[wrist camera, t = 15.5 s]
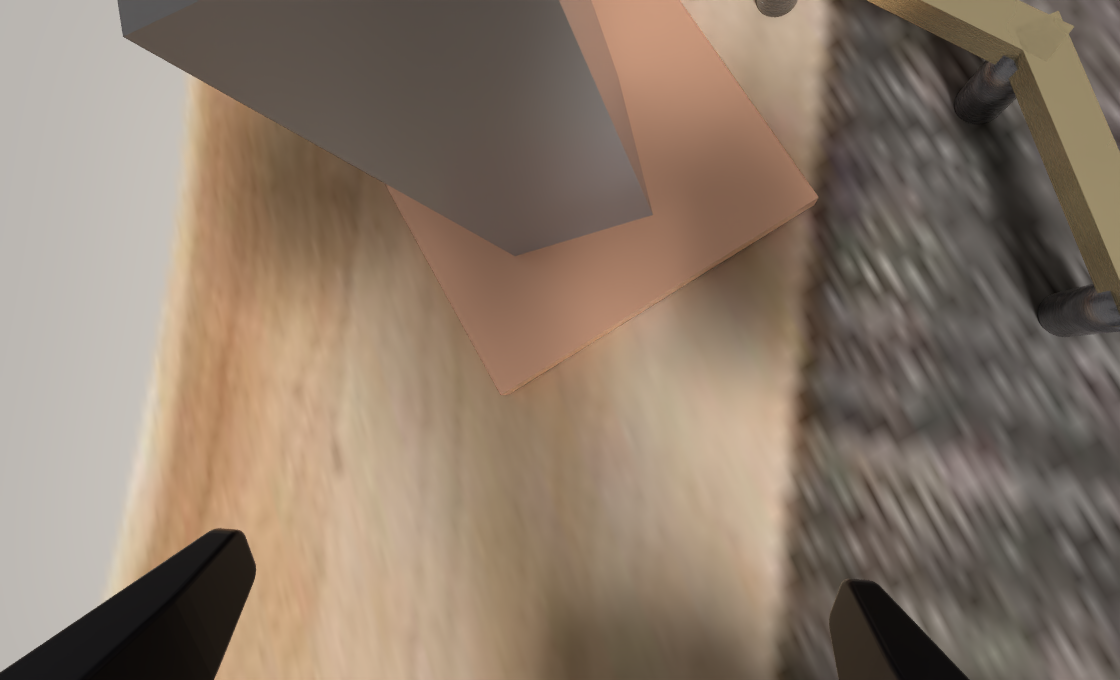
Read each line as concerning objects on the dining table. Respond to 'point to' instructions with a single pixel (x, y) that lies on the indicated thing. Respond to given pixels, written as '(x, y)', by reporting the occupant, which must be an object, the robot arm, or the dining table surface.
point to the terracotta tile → (638, 246)
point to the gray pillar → (431, 100)
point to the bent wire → (1039, 131)
